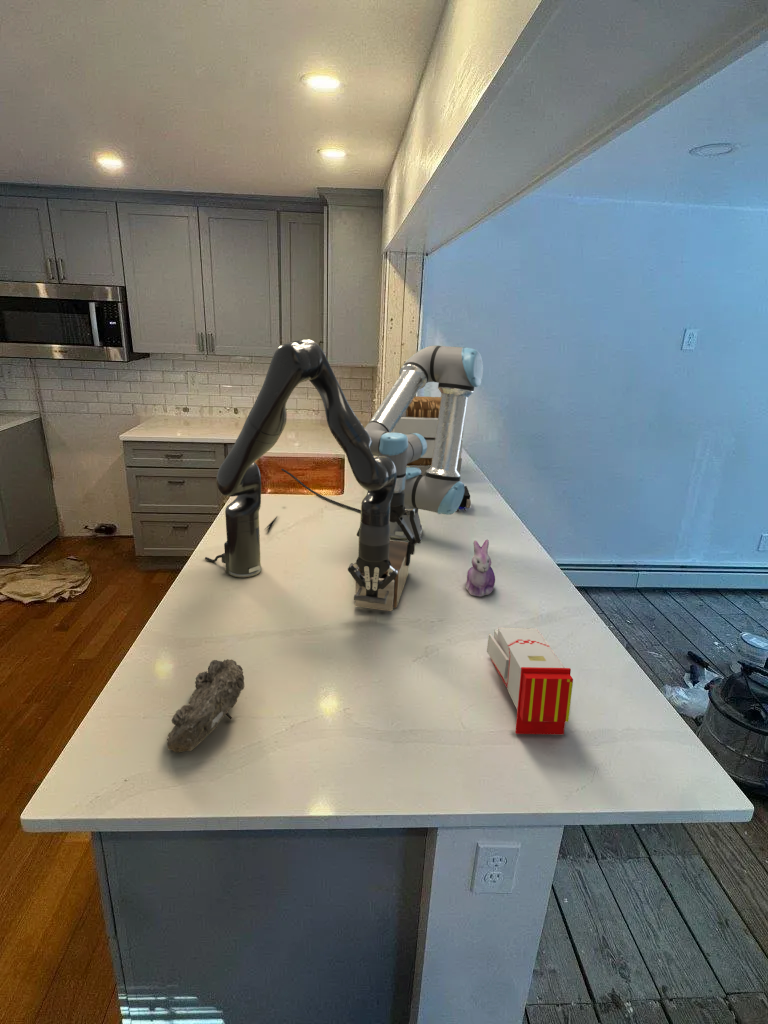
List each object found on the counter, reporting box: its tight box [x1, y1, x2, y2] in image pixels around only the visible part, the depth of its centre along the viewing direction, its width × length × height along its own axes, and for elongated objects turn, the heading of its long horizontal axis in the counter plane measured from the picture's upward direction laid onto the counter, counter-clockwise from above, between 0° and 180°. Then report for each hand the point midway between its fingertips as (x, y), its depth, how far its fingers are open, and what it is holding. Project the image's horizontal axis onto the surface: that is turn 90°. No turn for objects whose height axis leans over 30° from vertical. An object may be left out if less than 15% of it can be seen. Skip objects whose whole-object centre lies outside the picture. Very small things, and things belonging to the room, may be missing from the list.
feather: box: [264, 516, 278, 533], centre depth 207 cm, size 2×28×2 cm
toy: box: [486, 627, 574, 736], centre depth 118 cm, size 12×13×30 cm
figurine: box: [465, 539, 496, 597], centre depth 159 cm, size 9×10×15 cm
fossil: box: [166, 658, 245, 754], centre depth 106 cm, size 22×10×15 cm
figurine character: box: [456, 485, 472, 513], centre depth 228 cm, size 7×8×15 cm
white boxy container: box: [392, 394, 465, 475], centre depth 268 cm, size 34×33×41 cm
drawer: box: [353, 573, 395, 612], centre depth 153 cm, size 25×10×8 cm, turn 169°
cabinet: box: [358, 539, 410, 609], centre depth 159 cm, size 21×11×10 cm, turn 169°
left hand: (371, 601), depth 144 cm, fingers closed
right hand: (387, 561), depth 164 cm, fingers closed on cabinet, 11 cm apart
